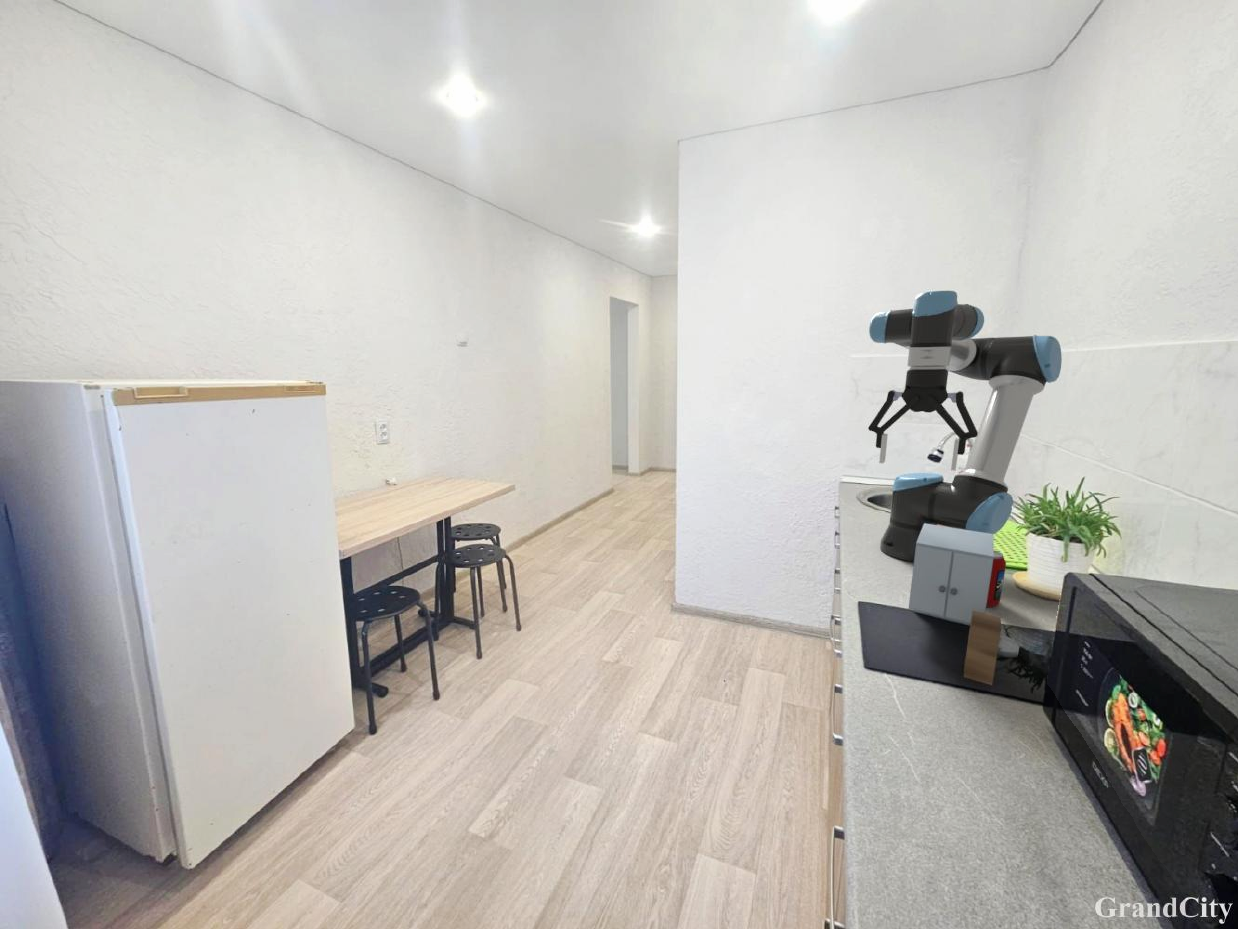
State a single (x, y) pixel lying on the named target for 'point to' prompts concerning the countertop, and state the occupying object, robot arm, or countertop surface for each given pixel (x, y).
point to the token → (1007, 647)
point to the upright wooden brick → (982, 647)
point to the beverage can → (996, 579)
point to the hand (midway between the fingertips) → (916, 465)
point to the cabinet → (951, 573)
